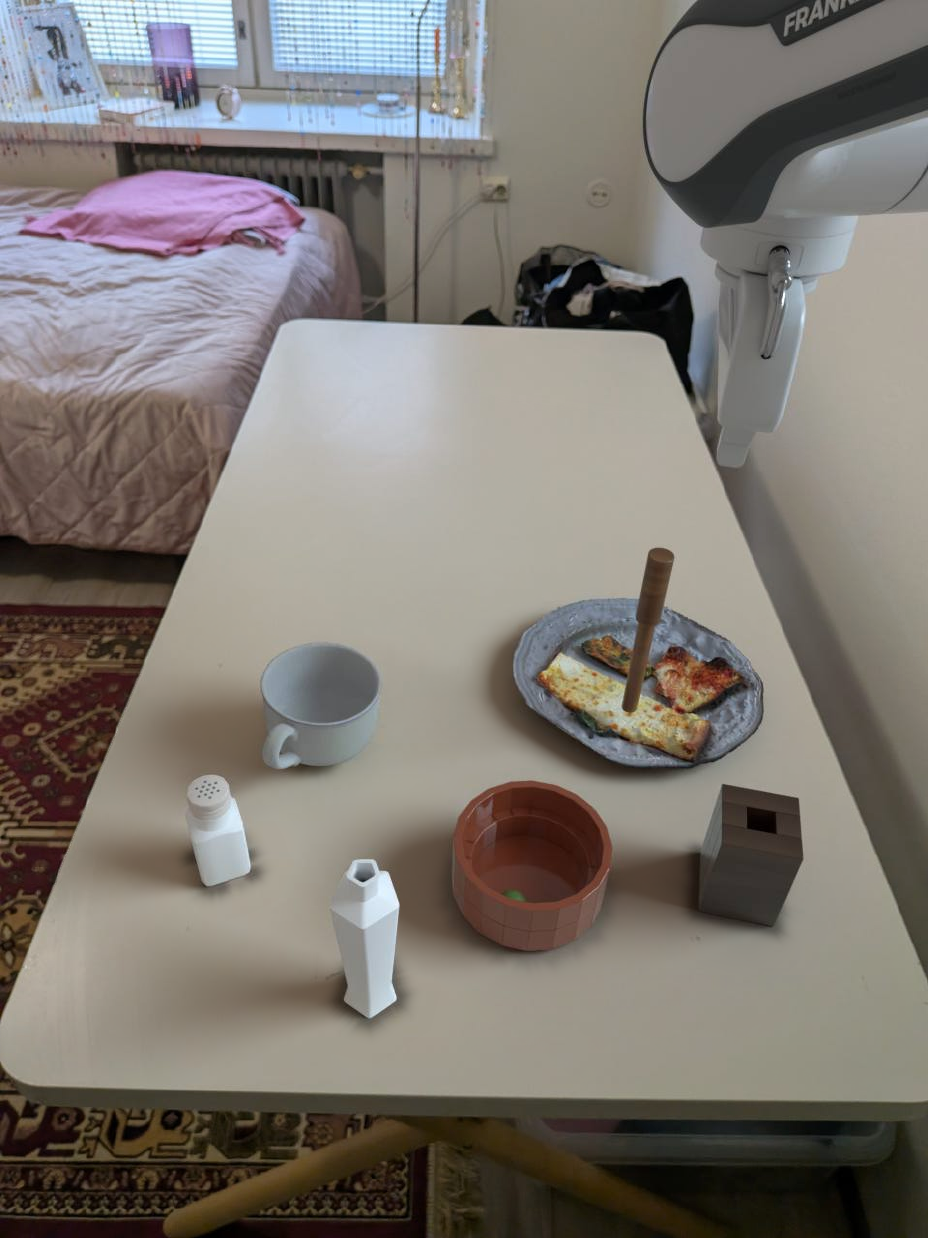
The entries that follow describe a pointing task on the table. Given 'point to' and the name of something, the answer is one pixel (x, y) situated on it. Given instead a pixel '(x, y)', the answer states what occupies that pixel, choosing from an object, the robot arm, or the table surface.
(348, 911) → the white faceted bottle
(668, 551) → the stirring stick
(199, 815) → the salt shaker
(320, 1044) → the table surface
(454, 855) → the bowl
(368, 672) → the teacup
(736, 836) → the utensil block
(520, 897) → the bead
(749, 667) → the food plate
